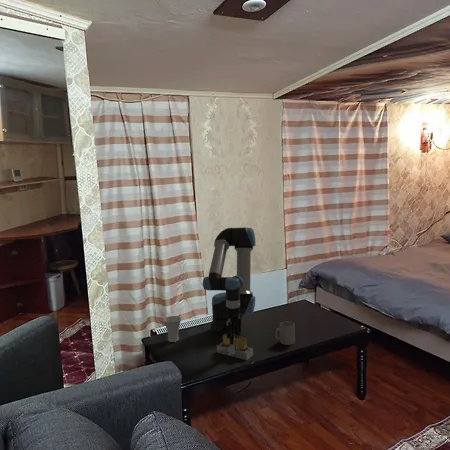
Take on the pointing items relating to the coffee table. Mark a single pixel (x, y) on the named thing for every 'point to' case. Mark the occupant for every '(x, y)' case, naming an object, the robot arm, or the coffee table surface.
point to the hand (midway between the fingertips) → (234, 348)
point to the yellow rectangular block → (236, 342)
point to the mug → (286, 333)
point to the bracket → (235, 351)
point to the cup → (172, 327)
